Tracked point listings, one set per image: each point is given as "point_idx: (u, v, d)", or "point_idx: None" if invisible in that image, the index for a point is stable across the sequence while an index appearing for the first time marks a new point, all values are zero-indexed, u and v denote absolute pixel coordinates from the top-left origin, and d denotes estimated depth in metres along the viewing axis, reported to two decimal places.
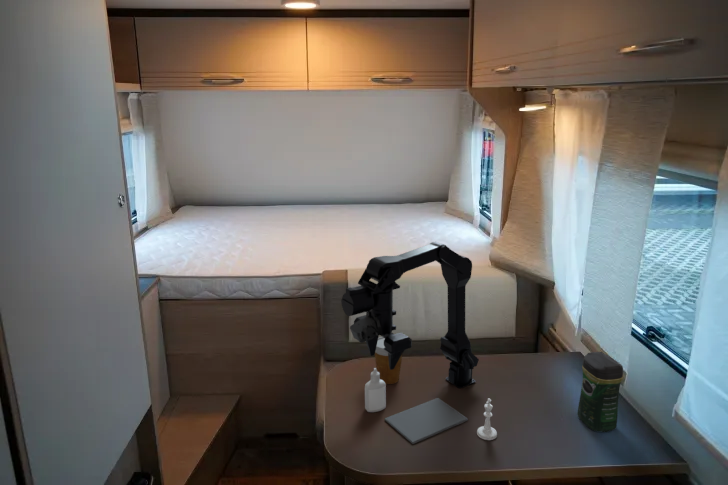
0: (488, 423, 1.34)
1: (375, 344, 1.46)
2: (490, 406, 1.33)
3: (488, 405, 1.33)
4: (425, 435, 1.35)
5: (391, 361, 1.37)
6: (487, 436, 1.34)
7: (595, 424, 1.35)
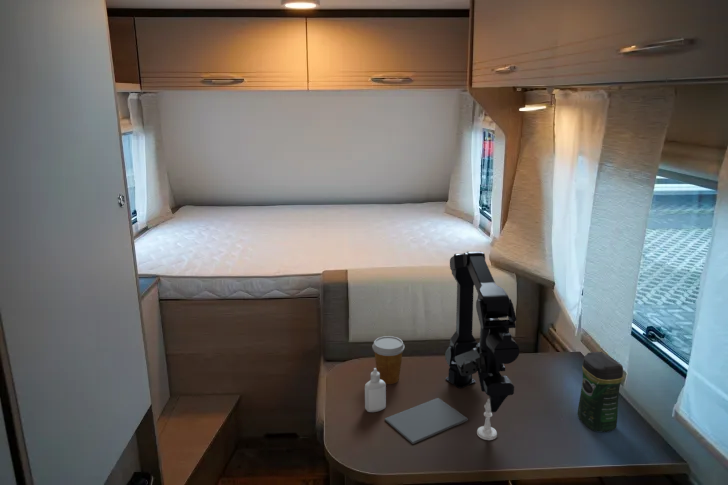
0: (488, 423, 1.34)
1: None
2: (490, 406, 1.33)
3: (488, 405, 1.33)
4: (425, 435, 1.35)
5: (491, 404, 1.28)
6: (487, 436, 1.34)
7: (595, 424, 1.35)
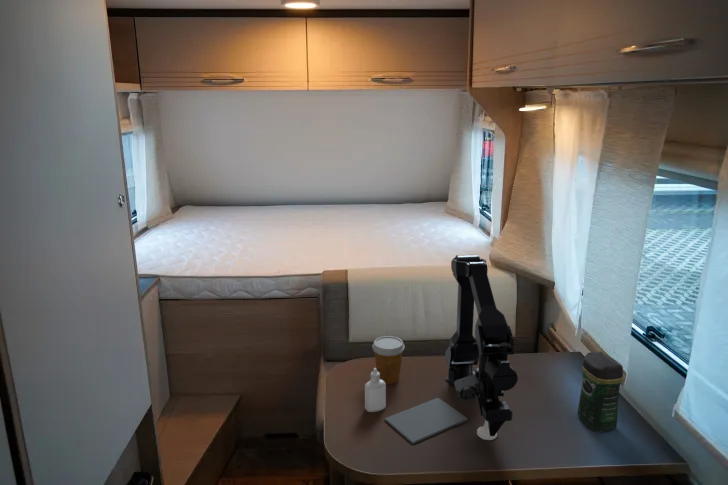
0: None
1: None
2: None
3: None
4: (425, 435, 1.35)
5: (490, 428, 1.30)
6: (487, 436, 1.34)
7: (595, 424, 1.35)
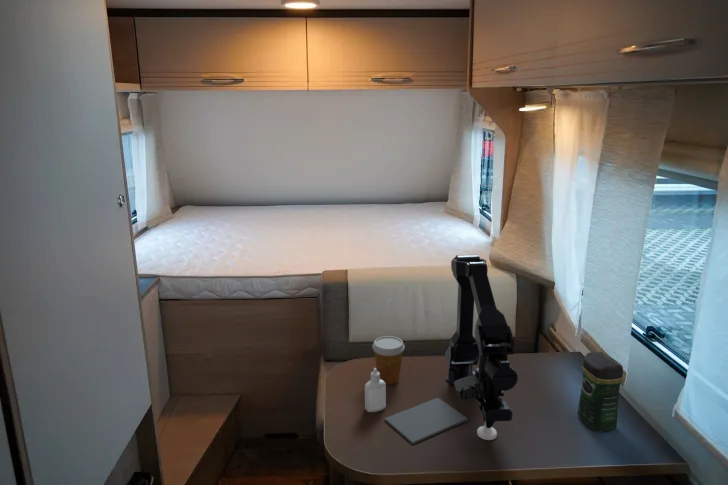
0: None
1: None
2: None
3: None
4: (425, 435, 1.35)
5: None
6: (487, 436, 1.34)
7: (595, 424, 1.35)
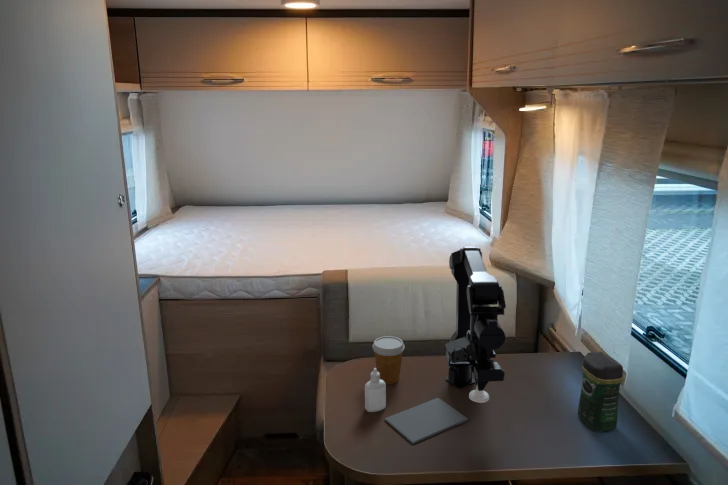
0: None
1: None
2: None
3: None
4: (425, 435, 1.35)
5: (478, 382, 1.31)
6: (479, 399, 1.32)
7: (595, 424, 1.35)
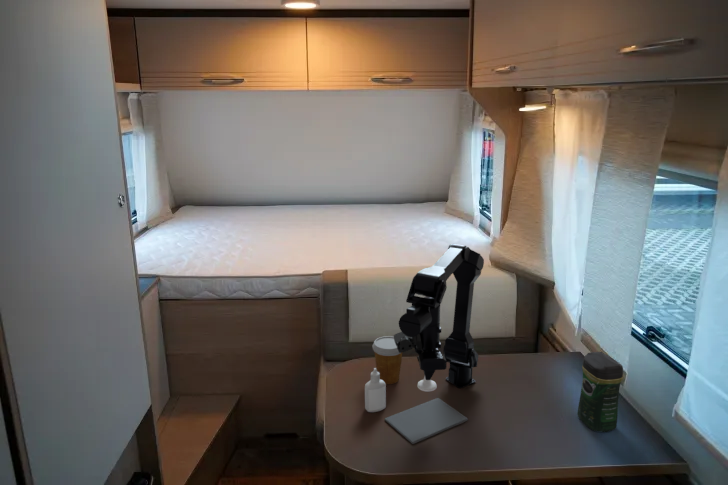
0: None
1: None
2: None
3: None
4: (425, 435, 1.35)
5: (425, 372, 1.36)
6: (426, 388, 1.37)
7: (595, 424, 1.35)
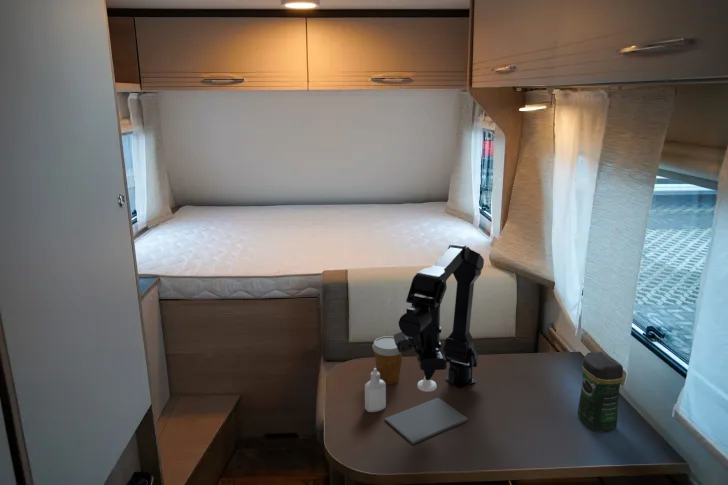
0: None
1: None
2: None
3: None
4: (425, 435, 1.35)
5: (425, 372, 1.36)
6: (426, 388, 1.37)
7: (595, 424, 1.35)
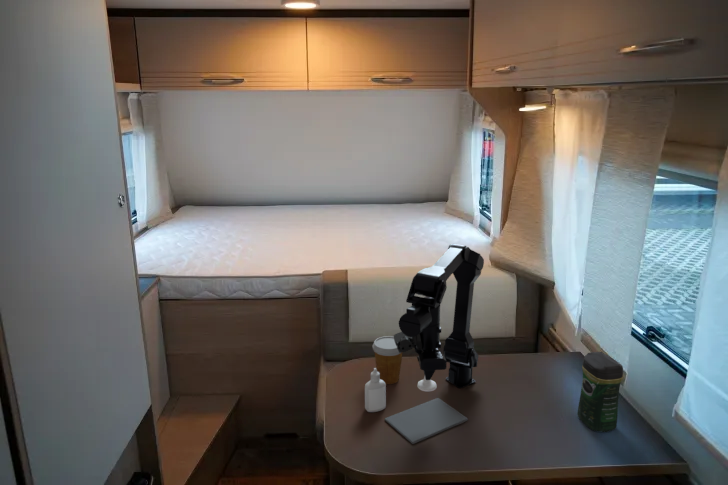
0: None
1: None
2: None
3: None
4: (425, 435, 1.35)
5: (425, 372, 1.36)
6: (426, 388, 1.37)
7: (595, 424, 1.35)
